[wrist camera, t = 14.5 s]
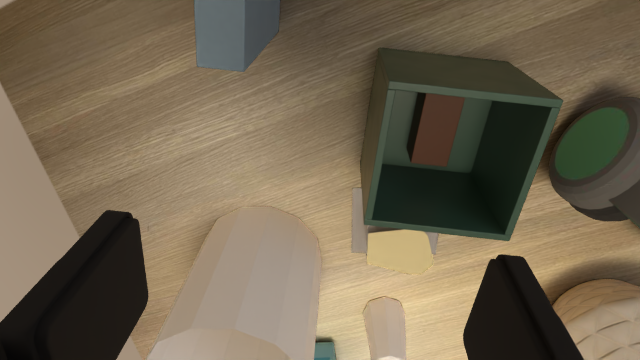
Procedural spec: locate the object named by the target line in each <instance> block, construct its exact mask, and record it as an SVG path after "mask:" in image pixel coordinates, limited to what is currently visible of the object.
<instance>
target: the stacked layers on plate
mask: <svg viewBox="0 0 640 360" xmlns="http://www.w3.org/2000/svg"><path fill="white" fill-rule="evenodd" d="M437 240H438V233H432V232H423V231H415V230H406V229H397V228H388V227H379V226H370V225H364V221H363V204H362V188H353V201H352V246H351V253H366V255H367V264H371V265H375V266H378V267H382V268H386V269H390V270H394V271H398V272H401V273H405V274H417V275H421V274H423V273H424V272H425V271H426V270H428V269H429V268H430V267H431V266H433V263H434V261H433V257H432V254H436V247H437Z"/></svg>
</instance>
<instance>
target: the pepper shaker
mask: <svg viewBox="0 0 640 360" xmlns="http://www.w3.org/2000/svg"><path fill="white" fill-rule="evenodd" d="M363 315H364V321H365V326H366V332H367V337H368V343H369V348H370V354H371V359H372V360H406V334H405V311H404V309H403V308H402V306H401V304H400V302H399V301H397V300H394V299H391V298H387V297H381V298H378V299H374V300H371V301H369V303H368V304H367V306H366V308H365V310H364V312H363Z"/></svg>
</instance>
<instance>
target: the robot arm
mask: <svg viewBox="0 0 640 360" xmlns="http://www.w3.org/2000/svg"><path fill="white" fill-rule="evenodd" d="M147 301H148V288H147V280H146V273H145V265H144V257H143V250H142V242H141V234H140V227H139V221H138V220H137V219H134V218H133V216H132V214H131V213H129V212H121V211H112V210H107V211H105V212H104V213H103V214H102V215H101V216H100V217H99V218H98V219H97V221H96V222H95V223H94V224H93V225H92V226H91V227H90V228H89V229H88V230H87V231H86V232H85V233H84V235H83V236H82V237H81V238H80V239H79V240H78V241H77V242H76V243H75V244H74V245H73V246H72V248H70V250H69V251H68V252H67V253H66V254H65V255H64V256H63V257H62V258H61V259H60V260H59V261H57V263H55V265H54V266H53V267H52V268H51V269H50V270H49V271H48V272H47V273H46V274H45V275H44V276H43V277H42V278H41V279H40V281H39V282H38V283H37V284H36V285H35V286H34V287H33V288H32V289H31V290H30V291H29V292H28V293H27V295H25V297H24V298H23V299H22V300H21V301H20V302H19V303H18V304H17V305H16V306H15V307H14V308H13V310H11V312H10V313H9V314H8V315H7V316H6V317H5V318H4V319H3V320H2V321H1V322H0V360H116V359H117V357H118V355H119V353H120V352H121V350H122V348H123V346H124V345H125V343H126V341H127V339H128V338H129V336H130V334H131V332H132V331H133V329H134V327H135V325H136V323H137V322H138V320H139V318H140V316H141V315H142V313H143V311H144V309H145V307H146V305H147ZM463 341H464V346H465V349H466V353H467V356H468V360H584V358H583V357H582V355H581V353H580V352H579V350H578V348H577V346H576V345H575V343H574V341H573V339H572V338H571V336H570V334H569V332H568V331H567V329H566V327H565V326H564V324H563V322H562V320H561V319H560V317H559V316H558V315H557V314H556V312H555V310H554V309H553V307H552V305H551V304H550V302H549V300H548V298H547V297H546V295H545V293H544V291H543V290H542V288H541V286H540V284H539V283H538V281H537V279H536V277H535V276H534V274H533V272H532V270H531V269H530V267H529V265H528V263H527V262H526V260H525V259H524V258H523V257H520V256H511V255H502V254H501V255H498V256H497V258H496V259H491V260H490V261H489V263H488V266H487V269H486V272H485V274H484V277H483V280H482V283H481V285H480V288H479V291H478V293H477V296H476V299H475V302H474V304H473V307H472V310H471V313H470V315H469V318H468V321H467V323H466V326H465V329H464V334H463Z"/></svg>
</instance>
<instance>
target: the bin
mask: <svg viewBox="0 0 640 360" xmlns="http://www.w3.org/2000/svg"><path fill="white" fill-rule="evenodd" d="M418 92H420V93H429V94H438V95H447V96H456V97H465V100H464V104H463V108H462V112H461V115H460V119H459V123H458V127H457V130H456V134H455V138H454V141H453V145H452V149H451V153H450V156H449V160H448V164H447V167H443V166H434V165H425V164H416V163H411V162H410V159H409V155H408V152H407V148H406V147H407V143H408V138H409V133H410V128H411V124H412V119H413V114H414V110H415V105H416V100H417V95H418ZM562 103H563V100H562V99H561V98H559V97H558V96H556V95H555V94H553V93H552V92H551V91H549V90H548V89H546V88H545V87H543V86H542V85H540V84H539V83H538V82H536V81H535V80H533V79H532V78H530V77H529V76H528V75H526V74H525V73H523V72H522V71H520V70H519V69H517V68H516V67H515V66H513V65H512V64H510V63H509V62H505V61H496V60H487V59H478V58H469V57H460V56H451V55H442V54H433V53H424V52H415V51H406V50H397V49H387V48H378V53H377V60H376V66H375V72H374V79H373V85H372V91H371V98H370V104H369V110H368V117H367V123H366V129H365V136H364V142H363V148H362V155H361V161H360V170H361V187H362V204H363V221H364V225H370V226H379V227H388V228H397V229H406V230H415V231H423V232H432V233H441V234H450V235H459V236H468V237H477V238H486V239H494V240H503V241H509V240H510V238H511V235H512V233H513V230H514V228H515V225H516V223H517V220H518V217H519V215H520V212H521V210H522V207H523V204H524V202H525V199H526V197H527V194H528V191H529V189H530V186H531V184H532V181H533V178H534V176H535V173H536V171H537V168H538V165H539V163H540V160H541V158H542V155H543V152H544V150H545V147H546V145H547V142H548V139H549V137H550V134H551V131H552V129H553V126H554V124H555V121H556V118H557V116H558V113H559V111H560V108H561V105H562Z"/></svg>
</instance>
